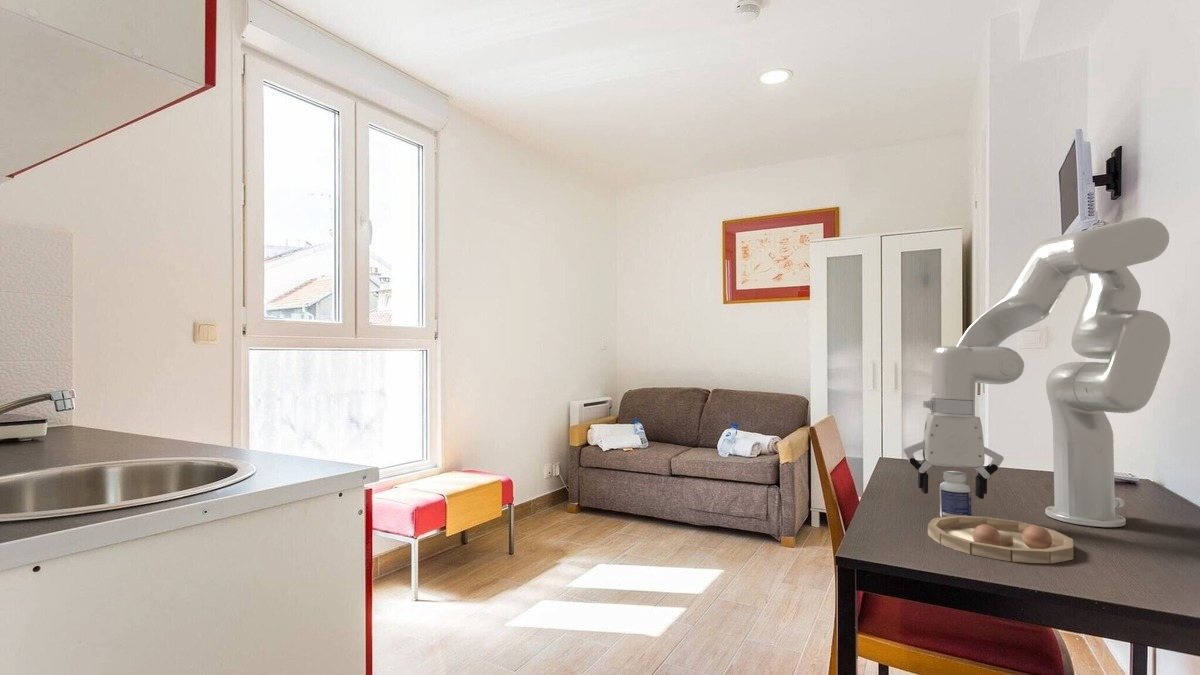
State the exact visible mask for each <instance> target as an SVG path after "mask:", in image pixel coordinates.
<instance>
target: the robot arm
mask: <svg viewBox="0 0 1200 675" xmlns="http://www.w3.org/2000/svg"><path fill="white" fill-rule="evenodd" d="M1169 243H1170V233H1169V231H1168V229H1167V226H1166V225H1164V224H1163V223H1162V222H1161V221H1159V220H1157V219H1155V218H1151V217H1137V218H1132V219H1128V220H1124V221H1120V222H1116V223H1115V222H1114V223H1111V224H1106V225H1102V226H1097V227H1095V228H1092V229H1085V230H1081V231H1080V230H1079V231H1077V232H1073V233H1068V234H1063V235H1059V236H1055V237H1051V238H1048V239H1045V240H1043V241H1040V242H1039V243H1038V244H1036V246H1034V248H1032V250H1031V251H1030V253H1029V255H1028V257H1027V259H1025V261H1024V263H1023V265H1022V266H1021V268H1020V270H1019V271H1018V272H1017V274H1016V276H1015V278H1014V279H1013V281H1012V282H1011V284H1010V285H1009V288H1008V289H1007V290H1006V292H1005V294H1004V295H1003V296H1002V297H1001V298H1000V300H998V301H997V302H996V303H994V304H993V305H992V306H990V307H989V308H988V309H987V310H986V311H985V312H984V313H983V314H981V315H980V316H979V317H978V318H976V319H975V321H974V322H972V323H971V325H969V327H968V328H966V330H965V332H964V333H963V335H962V336H961V338H960V339H959V341H958V343H957V344H956V345H949V346H948V345H943V346H942V345H941V346H937V347H935V348H934V349H933V351H932V354H931V361H932V362H931V398H930V399H929V400H924V401H923V404H922V405H923V408H924V409H929V410H930V413H929V412H928V413H927V416H926V419H925V425H924V431H923V437H922V438H923V440H922V441H919V442H917V443H915V444H912V445H909V446H908V447H904V448H903V453H904V455H905V457H906V458H907V460H908V462H909V464H911V465H912V466H913V468H915V469H916V471H917V476H918V477H917V481H918V482H917V487H918V489H920V491H921V492H922V493H923V494H928V493H929V474H928V473H927V471H928V470H929V469H930V468H931V467H932V466H940V467H951V468H965V469H974V471H975V472H976V473H977V475H976V476H975V483H974V484H975V491H974V492H975V496H976V498H979V499H980V500H984V499H985V495H987V493H988V479H989V478H990V476H992V475H993V474H994V473H995V472H996V471H998V469H999V467H1000V466H1001V464H1002V462H1003V461H1004V456H1003V455H1001V454H999V453H998V452H996V451H994V450H992V449H990V448H988V447H987V446H986V447H985V441H984V434H983V426H982V421H981V417H980V416H976V384H986V385H987V384H988V385H1008V384H1011V383H1013V382H1015V381H1016V380H1019V378H1020V377H1021V376H1022V375H1023V373H1024V370H1025V361H1024V359H1023V357H1022V356H1021V355H1020V354H1019V353H1018V352H1017V351H1016V350H1014V349H1013V348H1010V347H1006V346H1000V345H1001V344H1002V343H1003V342H1005V340H1006V339H1008V338H1010V337H1011V336H1013V335H1014V334H1016V333H1018V332H1020V331H1022V330H1025V329H1027V328H1030V327H1032V326H1034V325H1036V324H1038V323H1039V322H1041V321H1043V320H1045V319H1046V318H1048V317H1049V316H1050V314H1051V312H1052V311H1053V310H1054V308H1055V306H1056V304H1057V303H1058V301H1059V299H1060V298H1061V296H1062V295H1063V292H1064V291H1065V290H1066V288H1067V286H1068V285H1069V283H1070V282H1071V280H1073V278H1075V277H1080V276H1083V277H1084V279H1085V281H1086V286H1087V290H1086V291H1087V292H1086V295H1085V297H1084V301H1083V304H1082V306H1081V307H1082V308H1081V309H1080V313H1079V316H1078V317H1077V320H1076V323H1075V326H1074V329H1073V332H1072V335H1071V346H1072V349H1073V350H1074V352H1075V353H1076V354H1078V355H1080V356H1081V357H1084V358H1087V359H1093V360H1094V359H1095V360H1108V362H1099V361H1070V362H1066V363H1063V364H1060V365H1057V366H1056V367H1054V368H1053V369H1052V370H1051V371H1050V372H1049V374H1048V375H1047V378H1046V382H1045V390H1046V395H1047V400H1048V402H1049V407H1050V411H1051V418H1052V419H1051V420H1052V438H1053V439H1052V441H1053V442H1052V446H1053V447H1052V448H1053V454H1052V456H1053V486H1054V487H1053V489H1054V490H1053V492H1054V493H1053V496H1054V505H1049V506H1047V507H1046V508H1045V509H1044V511H1045V515H1046V516H1048V517H1050V518H1051V519H1054V520H1057V521H1061V522H1064V523H1070V524H1075V525H1079V526H1088V527H1099V528H1119V527H1124V526H1126V524H1127V523H1126V521H1127V520H1126V518H1125V516H1122V515H1120V514H1118V513H1116V509H1117V508H1122V507H1124V506H1125V503H1126V502H1125V500H1124V499H1122V498H1121V497H1116V495H1115V493H1116V492H1115V491H1116V490H1115V460H1114V458H1115V456H1114V451H1115V450H1114V443H1115V442H1114V441H1115V440H1114V431H1113V427H1112V425H1111V422H1110V420H1109V417H1108V416H1107V414H1106V413H1115V414H1116V413H1117V414H1132V413H1135V412H1137V411H1140V410H1141V409H1142V408H1144V407H1146V405H1147V404H1148V402H1150V400H1151V397H1152V396H1153V394H1154V391H1155V389H1156V386H1157V383H1158V381H1159V378H1160V375H1161V373H1162V369H1163V366H1164V364H1165V361H1166V359H1167V356H1168V354H1169V353H1168V352H1169V350H1170V344H1171V332H1170V329H1169V325H1168V324H1167V322H1166V321H1165V319H1164V318H1163V317H1162V316H1161V315H1159V314H1157V313H1155V312H1153V311H1150V310H1147V309H1146V310H1144V309H1138V307H1139V304H1140V301H1141V298H1142V297H1141V295H1142V290H1141V286H1140V284H1139V282H1138V280H1137V279H1136V278H1135V276H1134V274H1133V273H1132V272H1131V271H1130V269H1129V268H1128V267H1130V266H1134V265H1139V264H1142V263H1146V262H1149V261H1153V260H1154V259H1157V258H1158V257H1159V256H1161V255H1163V253H1164V252H1165V251H1166V249H1167V247H1168V246H1169ZM918 451H922V458H923V459H922V460H921V461H920V462H919V461H918V460H917V459H916V457H915V456H914V454H915V453H916V452H918ZM985 455H986V456H988V457H989V458H991V461H990V463H989V464H987V465H986V466H985V467H984V465H985Z"/></svg>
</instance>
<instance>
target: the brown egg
mask: <svg viewBox="0 0 1200 675" xmlns="http://www.w3.org/2000/svg"><path fill="white" fill-rule="evenodd" d="M972 536H973V540H974V542H978V543H984V544H991V545H997V546H999V545H1000V543H1001V535H1000V533H999V532H998V530H997V529H995V528H994V527H992V526H990V525H986V524H983V525H979V526H977V527H976V528H975V529H974V530H973V534H972Z"/></svg>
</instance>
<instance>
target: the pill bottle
mask: <svg viewBox="0 0 1200 675" xmlns="http://www.w3.org/2000/svg"><path fill="white" fill-rule="evenodd" d="M942 476H943V477H942V478H943V480H944V481H943V482H941V483H940V484H939V517H946V516H953V515H954V516H955V515H958V516H973V515H972V514H973V513H972V488H971V486H970V485H969V484H967V483H966V482H968V477H967V476H968V475H967V473H965V472H962V471H954V470H947V471H945V470H944V471H943V475H942Z"/></svg>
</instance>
